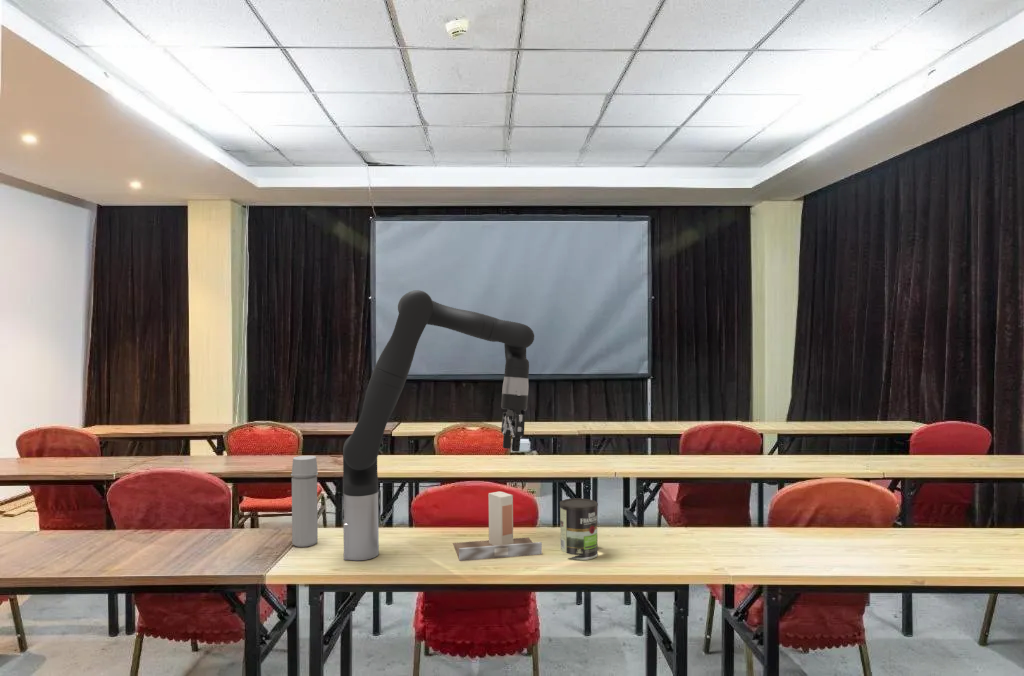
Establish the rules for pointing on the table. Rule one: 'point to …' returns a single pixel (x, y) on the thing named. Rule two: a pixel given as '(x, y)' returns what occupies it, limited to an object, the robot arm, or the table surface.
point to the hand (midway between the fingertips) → (510, 449)
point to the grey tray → (496, 549)
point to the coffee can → (579, 528)
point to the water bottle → (304, 501)
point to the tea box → (500, 518)
